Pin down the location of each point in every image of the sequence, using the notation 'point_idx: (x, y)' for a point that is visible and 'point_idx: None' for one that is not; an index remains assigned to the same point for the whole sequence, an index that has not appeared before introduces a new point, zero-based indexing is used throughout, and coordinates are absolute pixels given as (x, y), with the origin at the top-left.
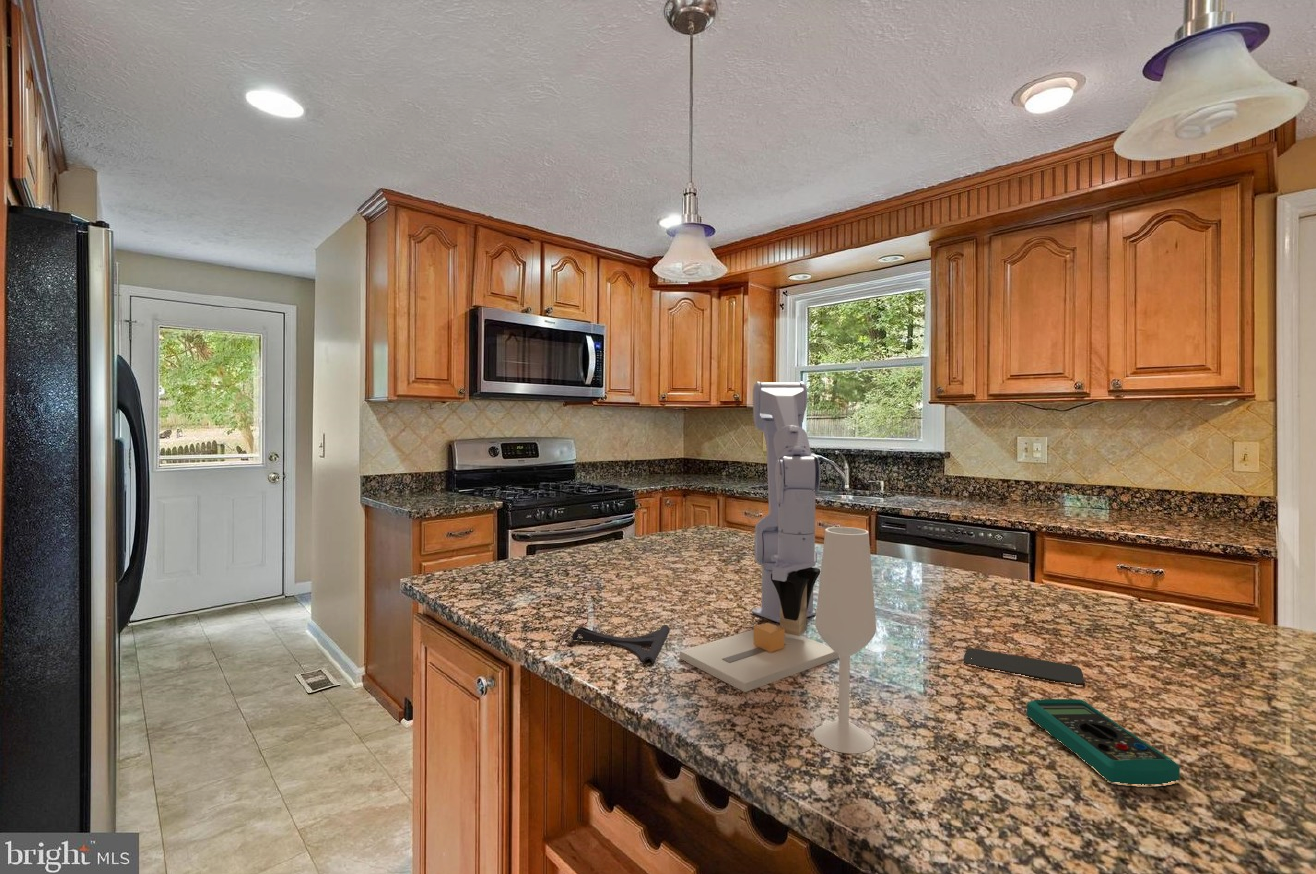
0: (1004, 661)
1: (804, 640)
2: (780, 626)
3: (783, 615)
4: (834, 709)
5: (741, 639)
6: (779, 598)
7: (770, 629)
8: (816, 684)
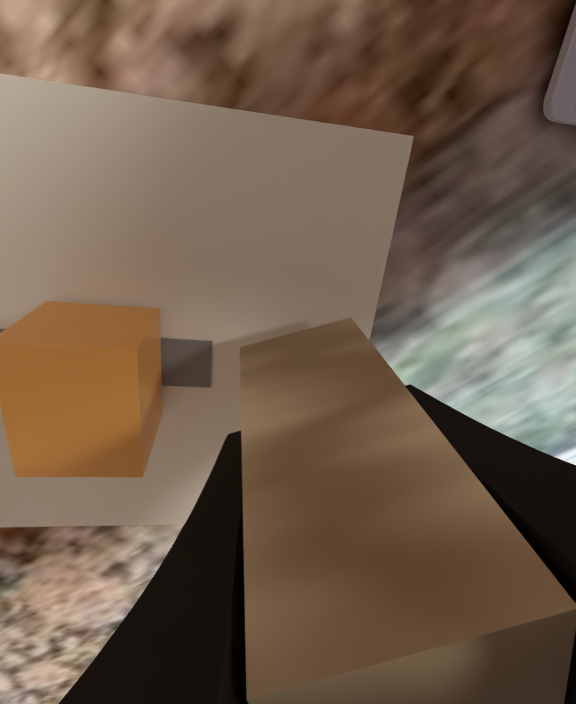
0: None
1: None
2: (240, 364)
3: (223, 443)
4: (10, 655)
5: (51, 179)
6: (177, 541)
7: (57, 440)
8: (84, 568)
